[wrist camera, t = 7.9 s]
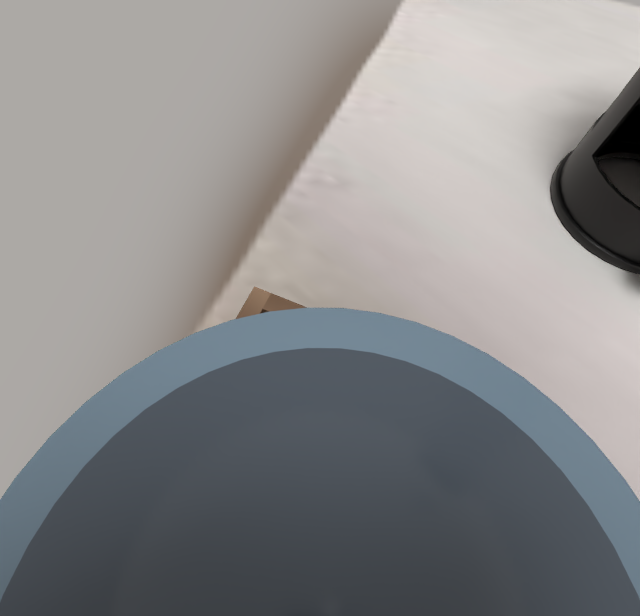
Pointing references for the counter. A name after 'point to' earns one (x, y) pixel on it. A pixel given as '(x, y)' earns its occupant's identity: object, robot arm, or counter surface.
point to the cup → (319, 485)
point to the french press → (603, 184)
